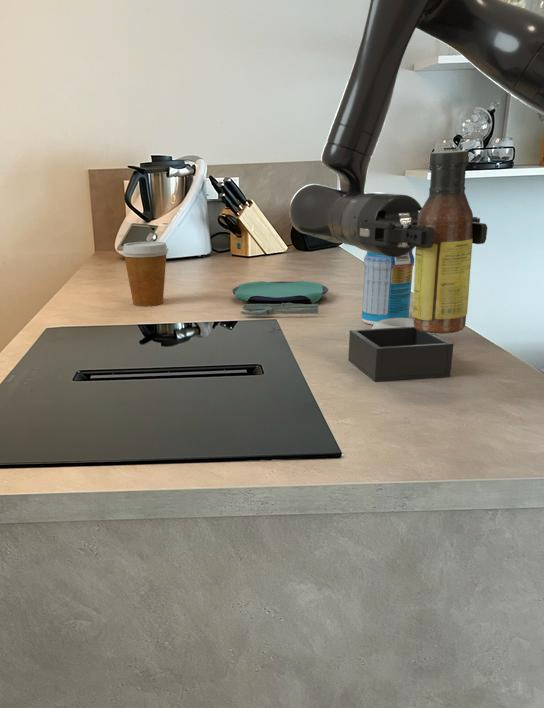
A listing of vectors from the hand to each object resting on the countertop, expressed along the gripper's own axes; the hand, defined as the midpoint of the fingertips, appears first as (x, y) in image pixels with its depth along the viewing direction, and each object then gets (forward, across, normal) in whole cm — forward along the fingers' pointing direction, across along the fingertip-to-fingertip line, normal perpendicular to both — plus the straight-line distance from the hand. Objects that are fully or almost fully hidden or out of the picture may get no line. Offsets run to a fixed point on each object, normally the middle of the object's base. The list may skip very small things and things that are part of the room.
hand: (457, 236), depth 88 cm
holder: (-16, +4, +20) cm, 26 cm away
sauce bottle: (-2, 0, +11) cm, 11 cm away
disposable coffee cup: (-82, -16, +21) cm, 86 cm away
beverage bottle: (-44, +18, +20) cm, 52 cm away
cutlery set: (-69, +8, +20) cm, 73 cm away
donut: (-29, +12, +20) cm, 37 cm away
